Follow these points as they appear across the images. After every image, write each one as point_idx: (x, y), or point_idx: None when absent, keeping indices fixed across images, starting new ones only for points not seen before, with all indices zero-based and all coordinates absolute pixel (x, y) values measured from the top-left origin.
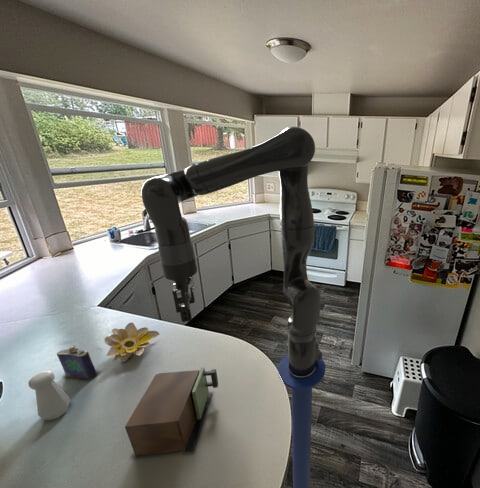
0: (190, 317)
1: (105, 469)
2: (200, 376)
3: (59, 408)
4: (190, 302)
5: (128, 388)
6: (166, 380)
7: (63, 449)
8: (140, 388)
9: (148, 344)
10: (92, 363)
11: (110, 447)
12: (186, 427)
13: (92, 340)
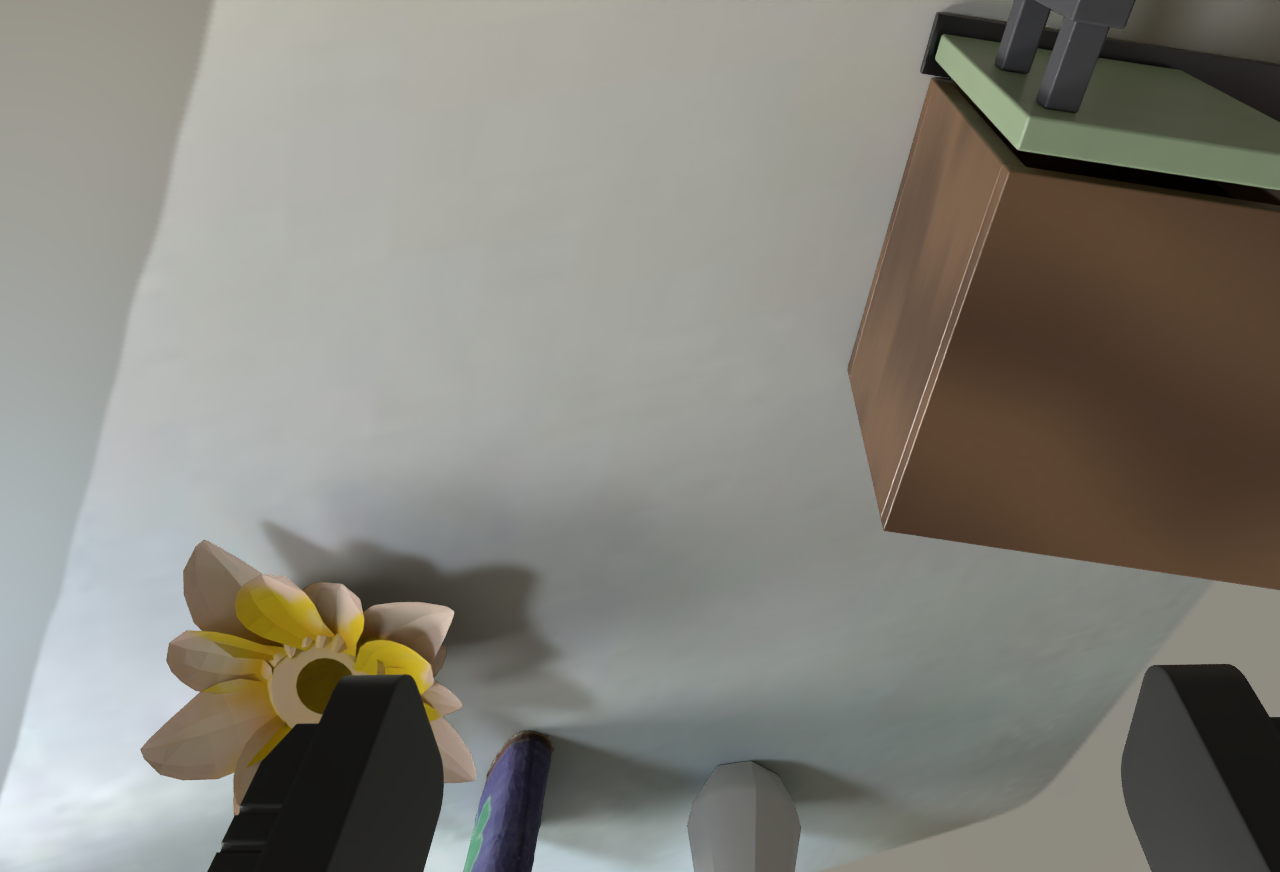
0: (1266, 732)
1: None
2: (1163, 141)
3: (779, 811)
4: (420, 744)
5: (677, 574)
6: (1013, 443)
7: (973, 704)
8: (697, 516)
9: (329, 585)
10: (508, 805)
11: None
12: None
13: None
